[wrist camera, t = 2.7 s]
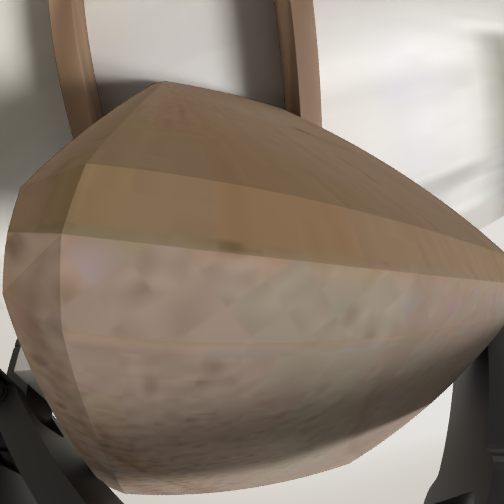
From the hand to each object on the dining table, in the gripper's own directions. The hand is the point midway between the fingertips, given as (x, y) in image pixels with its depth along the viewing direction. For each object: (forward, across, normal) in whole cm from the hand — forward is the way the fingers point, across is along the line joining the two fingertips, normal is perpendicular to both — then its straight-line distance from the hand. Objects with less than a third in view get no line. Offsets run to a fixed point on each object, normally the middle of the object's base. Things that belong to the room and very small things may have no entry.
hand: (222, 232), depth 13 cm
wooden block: (+11, 0, 0) cm, 11 cm away
